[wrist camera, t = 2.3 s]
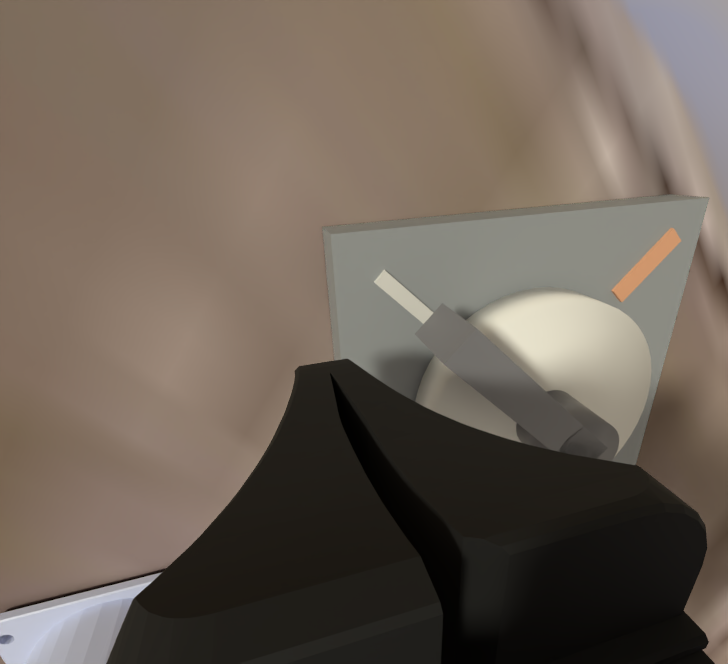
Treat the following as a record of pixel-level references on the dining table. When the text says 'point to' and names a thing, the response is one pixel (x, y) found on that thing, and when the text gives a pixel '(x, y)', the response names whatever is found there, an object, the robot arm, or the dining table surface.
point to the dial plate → (507, 276)
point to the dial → (540, 371)
